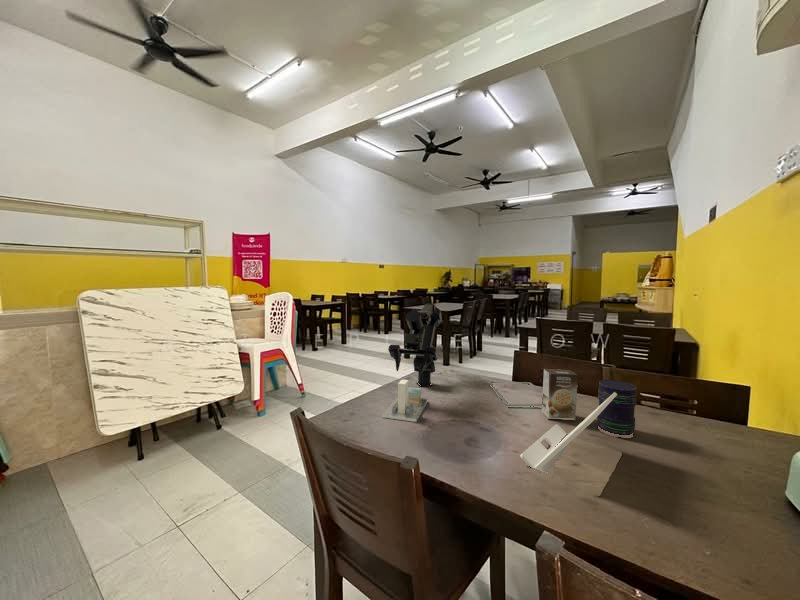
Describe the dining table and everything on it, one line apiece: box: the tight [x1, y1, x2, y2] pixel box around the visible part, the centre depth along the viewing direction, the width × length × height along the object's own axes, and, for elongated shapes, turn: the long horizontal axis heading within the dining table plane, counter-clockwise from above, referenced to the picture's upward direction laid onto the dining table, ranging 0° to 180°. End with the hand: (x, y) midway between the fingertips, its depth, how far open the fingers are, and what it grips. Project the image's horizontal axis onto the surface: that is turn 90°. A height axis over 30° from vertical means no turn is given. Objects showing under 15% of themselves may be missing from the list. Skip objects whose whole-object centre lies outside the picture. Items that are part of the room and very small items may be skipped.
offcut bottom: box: [408, 394, 422, 403], centre depth 122 cm, size 5×7×2 cm
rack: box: [381, 396, 429, 423], centre depth 116 cm, size 19×12×3 cm, turn 163°
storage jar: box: [596, 379, 638, 435], centre depth 99 cm, size 10×10×15 cm
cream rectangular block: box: [397, 379, 409, 414], centre depth 111 cm, size 4×2×10 cm, turn 163°
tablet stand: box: [519, 392, 617, 474], centre depth 84 cm, size 18×25×17 cm
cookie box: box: [541, 368, 579, 420], centre depth 110 cm, size 9×6×16 cm
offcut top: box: [408, 386, 423, 398], centre depth 122 cm, size 5×7×2 cm
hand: (408, 371), depth 118 cm, fingers open, 9 cm apart
